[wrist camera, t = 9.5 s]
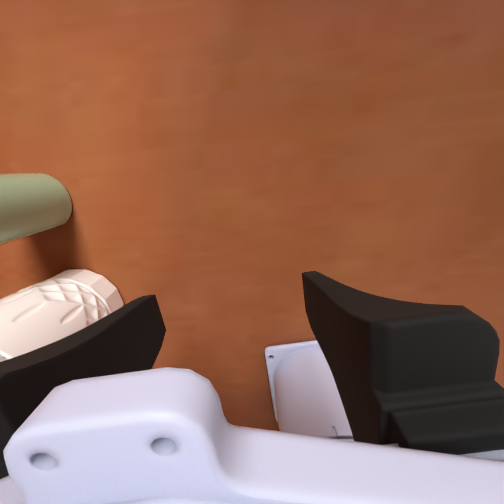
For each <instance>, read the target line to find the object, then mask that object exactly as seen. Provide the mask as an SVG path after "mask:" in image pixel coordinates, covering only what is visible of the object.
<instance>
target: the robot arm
mask: <svg viewBox="0 0 504 504" xmlns="http://www.w3.org/2000/svg"><path fill="white" fill-rule="evenodd" d="M302 280H303V289H304V299H305V309H306V313H307V316H308V320H309V323H310V326H311V329H312V331H313V333H314V335H315V337H316V339H317V340H315V341H307V342H299V343H292V344H284V345H277V346H269V347H267V348H266V349H265V357H266V363H267V369H268V376H269V382H270V388H271V394H272V400H273V407H274V413H275V419H276V421H277V422H278V424H279V431H274V430H266V429H259V428H251V427H244V426H236V425H232V424H230V423H228V422H227V420H226V418H225V416H224V414H223V410H222V406H221V402H220V398H219V395H218V393H217V392H216V390H215V389H214V387H213V385H212V384H211V382H210V381H209V379H207V378H205V377H203V376H201V375H199V374H198V373H196V372H194V371H192V370H190V369H181V368H168V367H166V368H158V369H151V368H152V366H153V364H154V362H155V360H156V358H157V355H158V353H159V351H160V349H161V346H162V343H163V339H164V335H165V332H166V328H165V325H164V322H163V319H162V315H161V312H160V309H159V306H158V302H157V299H156V296H155V295H148V296H142V297H140V298H137V299H135V300H133V301H131V302H130V303H128V304H126V305H124V306H123V307H121V308H119V309H117V310H116V311H114V312H112V313H110V314H109V315H107V316H105V317H103V318H102V319H100V320H98V321H96V322H94V323H93V324H91V325H89V326H87V327H85V328H83V329H81V330H79V331H77V332H75V333H73V334H71V335H69V336H67V337H65V338H62V339H60V340H58V341H56V342H53V343H51V344H48V345H46V346H43V347H41V348H38V349H36V350H33V351H31V352H28V353H25V354H22V355H20V356H17V357H14V358H11V359H8V360H5V361H2V362H0V504H504V388H502V387H501V386H500V385H499V384H498V383H497V382H496V381H494V378H495V373H496V367H497V362H498V356H499V338H498V335H497V332H496V330H495V329H494V328H493V327H492V326H491V325H490V323H489V322H487V321H485V320H484V319H482V318H481V317H479V316H478V315H476V314H475V313H473V312H472V311H470V310H469V309H467V308H466V307H464V306H458V305H435V304H422V303H413V302H406V301H399V300H394V299H389V298H384V297H380V296H375V295H372V294H369V293H365V292H362V291H359V290H356V289H354V288H351V287H349V286H346V285H344V284H341V283H339V282H337V281H335V280H333V279H331V278H329V277H327V276H325V275H323V274H321V273H319V272H316V271H311V272H304V273H302ZM270 355H272V357H269V356H270Z"/></svg>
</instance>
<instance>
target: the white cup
mask: <svg viewBox="0 0 504 504" xmlns="http://www.w3.org/2000/svg"><path fill="white" fill-rule="evenodd" d="M123 306H124V303H123V300H122V298H121V296H120V294H119V292H118V289H117V288H116V287H115V286H114V285H113V284H112V283H111V282H110V281H108V280H107V279H106V278H105V277H104V276H102V275H99V274H97V273H94V272H92V271H89V270H86V269H74V270H65V271H63V272H61V273H59V274H58V275H56V276H54V277H52V278H50V279H47V280H45V281H42V282H40V283H37V284H33V285H31V286H29V287H27V288H24V289H22V290H19V291H17V292H15V293H13V294H11V295H9V296H7V297H4V298H2V299H0V362H2V361H5V360H8V359H11V358H14V357H17V356H20V355H22V354H25V353H28V352H31V351H33V350H36V349H38V348H41V347H43V346H46V345H48V344H51V343H53V342H56V341H58V340H60V339H62V338H65V337H67V336H69V335H71V334H73V333H75V332H77V331H79V330H81V329H83V328H85V327H87V326H89V325H91V324H93V323H94V322H96V321H98V320H100V319H102V318H103V317H105V316H107V315H109V314H110V313H112V312H114V311H116V310H117V309H119V308H121V307H123Z"/></svg>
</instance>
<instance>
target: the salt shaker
mask: <svg viewBox="0 0 504 504" xmlns="http://www.w3.org/2000/svg"><path fill="white" fill-rule="evenodd" d="M71 212H72V201H71V198H70V195H69V193H68V191H67V190H66V188H65V187H64V186H63V185H62V184H61V183H60V182H59V181H58V180H56V179H55V178H53V177H51V176H49V175H46V174H43V173H15V174H0V245H2V244H5V243H8V242H11V241H14V240H17V239H21V238H24V237H27V236H30V235H33V234H36V233H40V232H43V231H46V230H49V229H52V228H55V227H58V226H61V225H63V224H64V223H65V222H66V221H67V220H68V219H69V217H70V215H71Z"/></svg>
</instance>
